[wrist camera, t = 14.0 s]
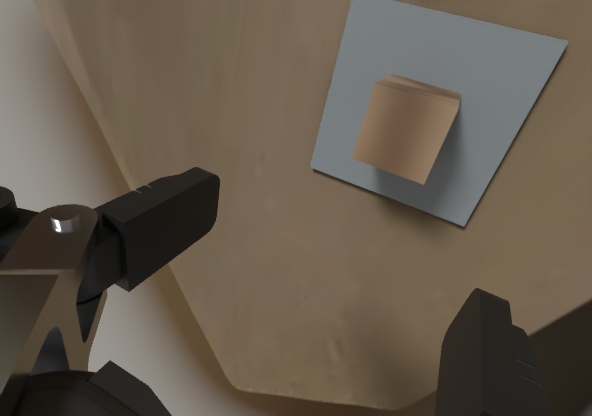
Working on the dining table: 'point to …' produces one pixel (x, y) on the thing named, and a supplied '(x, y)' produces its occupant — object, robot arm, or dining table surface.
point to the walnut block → (405, 126)
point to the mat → (441, 73)
